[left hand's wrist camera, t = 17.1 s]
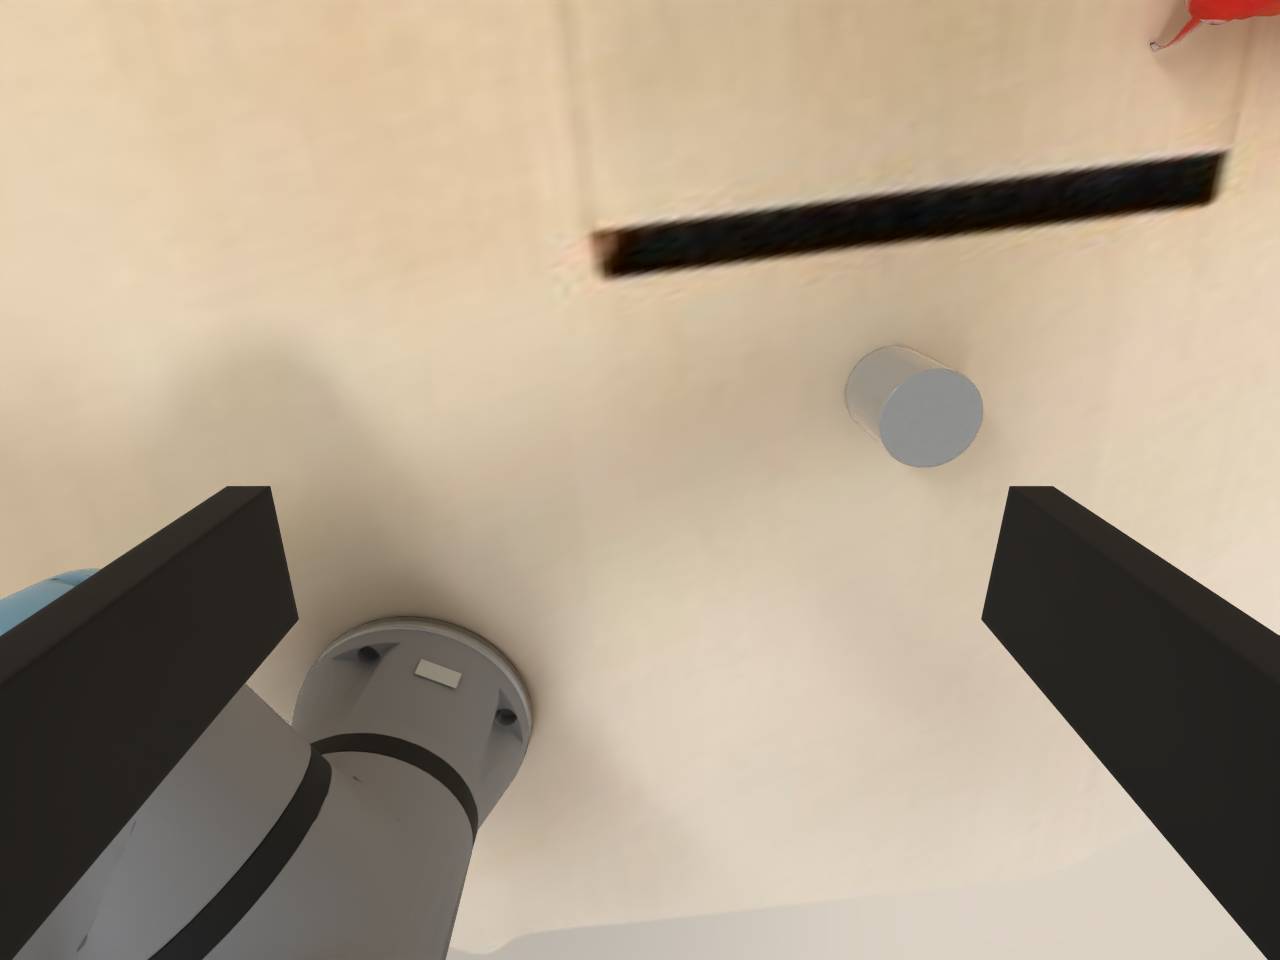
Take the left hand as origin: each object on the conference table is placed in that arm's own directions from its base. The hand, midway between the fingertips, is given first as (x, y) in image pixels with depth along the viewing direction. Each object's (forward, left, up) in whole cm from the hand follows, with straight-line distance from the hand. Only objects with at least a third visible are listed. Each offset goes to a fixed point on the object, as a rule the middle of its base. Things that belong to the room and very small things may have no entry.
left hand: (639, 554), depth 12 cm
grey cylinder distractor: (+4, -14, -27) cm, 30 cm away
